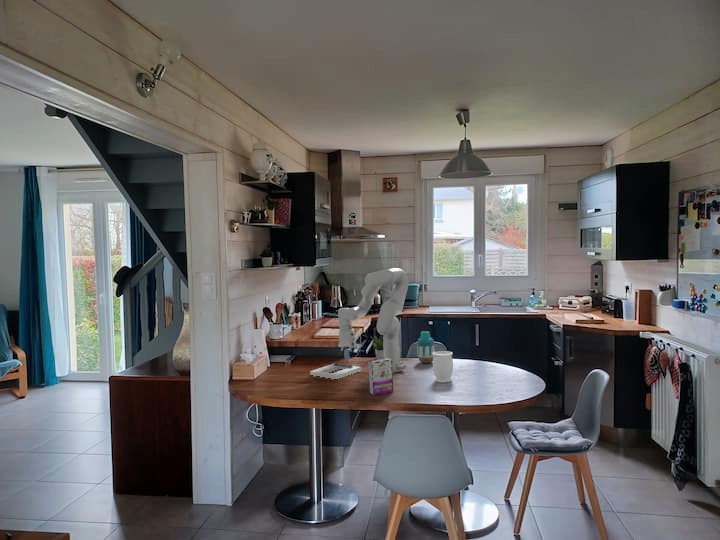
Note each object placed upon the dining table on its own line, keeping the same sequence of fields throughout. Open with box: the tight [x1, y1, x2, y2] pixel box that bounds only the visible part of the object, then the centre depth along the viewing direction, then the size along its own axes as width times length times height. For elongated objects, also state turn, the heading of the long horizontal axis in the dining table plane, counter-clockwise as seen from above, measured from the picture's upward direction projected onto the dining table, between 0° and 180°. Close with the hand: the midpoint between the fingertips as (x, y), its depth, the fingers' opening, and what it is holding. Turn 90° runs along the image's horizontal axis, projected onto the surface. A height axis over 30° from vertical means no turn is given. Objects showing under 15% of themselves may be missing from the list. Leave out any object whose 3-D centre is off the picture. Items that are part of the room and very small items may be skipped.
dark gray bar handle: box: [332, 362, 354, 368], centre depth 294 cm, size 14×2×2 cm, turn 51°
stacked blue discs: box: [344, 348, 353, 360], centre depth 304 cm, size 5×5×6 cm
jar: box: [432, 350, 454, 384], centre depth 262 cm, size 11×10×15 cm
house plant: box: [371, 335, 384, 360], centre depth 321 cm, size 14×14×16 cm
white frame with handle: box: [309, 363, 362, 380], centre depth 289 cm, size 20×22×2 cm
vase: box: [416, 330, 436, 364], centre depth 305 cm, size 11×11×19 cm
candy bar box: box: [367, 358, 394, 396], centre depth 246 cm, size 11×5×16 cm, turn 114°
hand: (348, 357), depth 304 cm, fingers closed on stacked blue discs, 5 cm apart
